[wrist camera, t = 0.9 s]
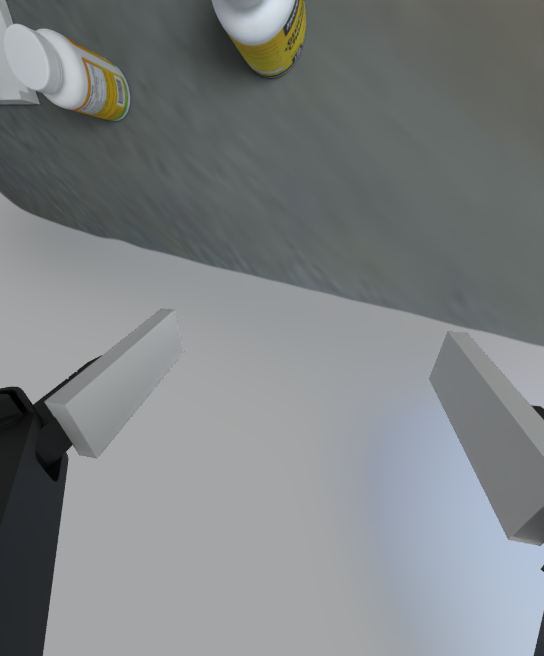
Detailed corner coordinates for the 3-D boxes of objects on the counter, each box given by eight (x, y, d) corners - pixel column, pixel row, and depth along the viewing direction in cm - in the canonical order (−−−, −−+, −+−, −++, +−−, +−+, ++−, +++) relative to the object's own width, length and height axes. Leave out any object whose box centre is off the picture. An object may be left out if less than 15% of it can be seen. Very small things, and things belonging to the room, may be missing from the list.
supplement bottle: (79, 82, 30) (-17, 45, 21) (107, 46, 27) (12, -12, 19) (112, 132, 31) (36, 115, 23) (141, 101, 29) (68, 71, 21)
